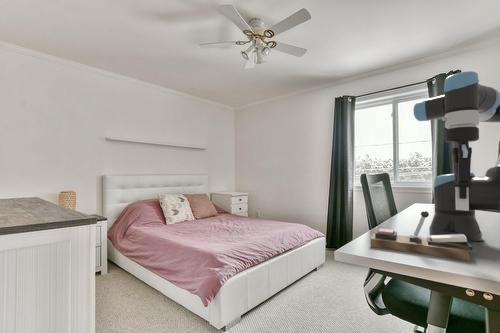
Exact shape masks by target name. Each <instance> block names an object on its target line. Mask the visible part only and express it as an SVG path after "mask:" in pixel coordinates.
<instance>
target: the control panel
mask: <svg viewBox="0 0 500 333" xmlns="http://www.w3.org/2000/svg"><path fill="white" fill-rule="evenodd" d="M370 247H372V248H380V249H386V250H391V251H392V250H393V251H400V252H406V253H407V252H408V253H413V254H419V255H427V256H433V257H441V258H447V259H455V260H461V261H467V262H468V261H469V262H470V251H473V246H472V245H471V244H470V241H467V242H432V239H431V237H428V236H427V237H422V236H419V235H418V236H414V235H409V236H408V235H403V234H402V235H401V234H398V232H397V231H394V235H391V234H383V233H379V229H376V231H375V232H374V233H373V234H372V236H371V238H370Z"/></svg>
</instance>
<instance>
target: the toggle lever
mask: <svg viewBox="0 0 500 333" xmlns="http://www.w3.org/2000/svg"><path fill="white" fill-rule="evenodd" d="M420 216H421V217H420V219H419V221H418V224H417V226H416V227H415V230H414V233H413V236H418V237H419V234H420V231H421V229H422V228H423V225H424V223H425V220H426V218H428V217H429V216H430V214H429V212H428V211H426V210H423V211H421V213H420Z"/></svg>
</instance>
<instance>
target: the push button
mask: <svg viewBox="0 0 500 333" xmlns="http://www.w3.org/2000/svg"><path fill="white" fill-rule="evenodd" d="M378 230H379V233H383V234H391V235H394V229H388V228H387V229H386V228H379V229H378Z"/></svg>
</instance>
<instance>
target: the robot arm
mask: <svg viewBox="0 0 500 333" xmlns="http://www.w3.org/2000/svg"><path fill="white" fill-rule="evenodd" d="M479 82H480V79H479V74H478V73H477V72H475V71H461V72H457V73H454V74H452V75H449V76H448V77H446V78H445V80H444V86H443V95H439V96H435V97H430V98H425V99H423V100H420V101H416V103H415V104H414V106H413V109H412V110H413V116H414V118H415V120H416V121H418V122H425V121H426V122H429V121H432V120H441V121H442V122H444V128H446V129H445V130H444V141H445V143H454V147H453V148H452V149H451V154H452V162H453V173H449V174H441V175H438V176H436V177H435V178H434V181H433V182H434V183H433V189H434V190H433V194H434V195H433V196H434V197H433V198H434V200H433V201H434V202H433V203H434V215H433V217H432V221H431V223H430V226H429V227H428V228H429V231H428V232H429V234H430V236H431V235H451V234H464V235H465V236H466V238H467V242H480V241H483V232H482V231H481V229H480V226H479V224H478V221H477V219H476V211H479V212H486V213H487V212H488V213H497V214H500V153H499V155H498V158H497V160H496V163H495V165H494V166H491V167H489V168H488V169H487V171H486V172H485V175H484V176H476V175H475V173H474V172H471V165H472V164H471V162H472V154H473V151H472V150H473V148H472V147H470V146H469V145H470V143H472V142H476V141H479V140H480V129H479V127H478V126H479V125H480V123H481V122H482V123H500V91H499V90H497V89H495V88H494V87H491V86H486V85H482V84H480V83H479Z"/></svg>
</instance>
